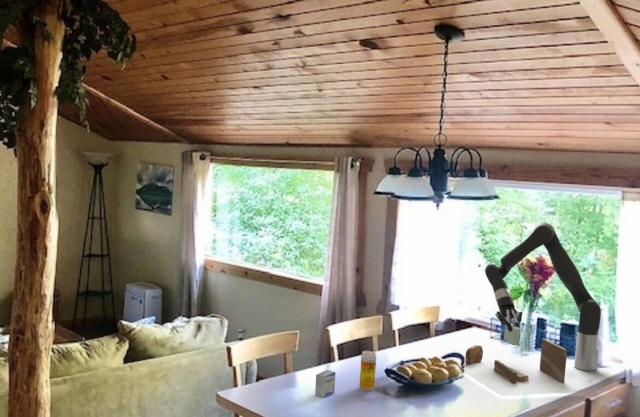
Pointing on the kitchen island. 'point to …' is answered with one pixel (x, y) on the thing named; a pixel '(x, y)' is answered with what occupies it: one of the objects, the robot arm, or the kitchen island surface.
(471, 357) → the brown rounded slab
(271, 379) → the kitchen island surface
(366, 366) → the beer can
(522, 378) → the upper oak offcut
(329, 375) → the medicine box
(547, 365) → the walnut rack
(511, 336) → the pale green block
